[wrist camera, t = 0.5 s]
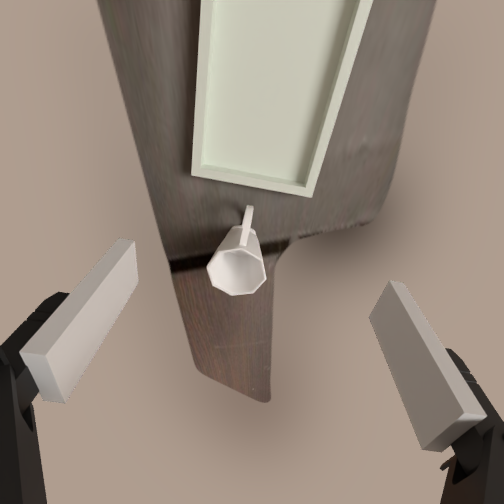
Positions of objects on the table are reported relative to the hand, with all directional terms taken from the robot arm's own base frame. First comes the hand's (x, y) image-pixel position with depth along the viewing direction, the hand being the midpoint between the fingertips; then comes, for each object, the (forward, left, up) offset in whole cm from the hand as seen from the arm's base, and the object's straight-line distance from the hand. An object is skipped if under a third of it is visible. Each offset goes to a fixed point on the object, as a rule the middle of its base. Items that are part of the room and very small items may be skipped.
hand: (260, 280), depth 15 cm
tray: (-8, -1, -22) cm, 23 cm away
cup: (+9, -1, -22) cm, 24 cm away
